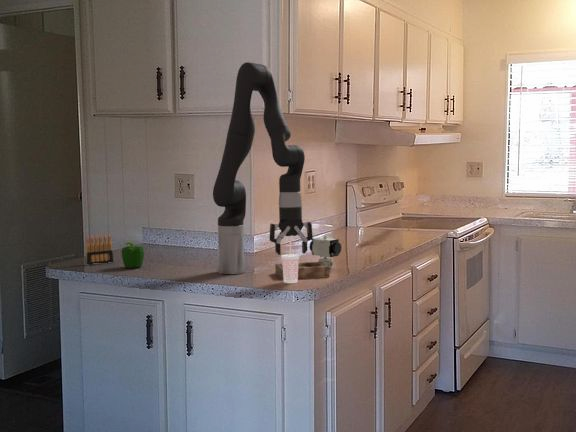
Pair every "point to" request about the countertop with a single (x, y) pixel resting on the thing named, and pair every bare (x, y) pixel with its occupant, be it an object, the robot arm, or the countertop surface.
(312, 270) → the socket block
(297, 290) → the countertop surface
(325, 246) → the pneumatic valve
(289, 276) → the beverage cup
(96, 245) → the ammunition clip
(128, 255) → the bell pepper
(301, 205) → the robot arm
